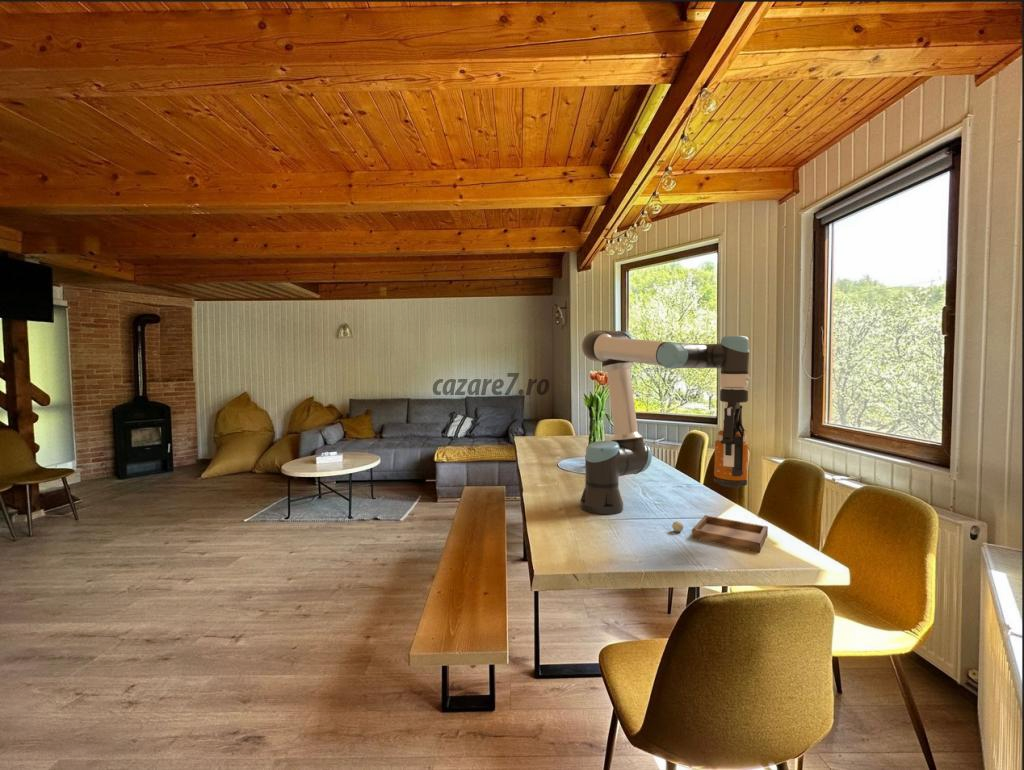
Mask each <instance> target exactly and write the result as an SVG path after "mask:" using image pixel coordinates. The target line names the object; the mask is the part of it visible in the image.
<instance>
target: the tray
mask: <svg viewBox="0 0 1024 770" xmlns="http://www.w3.org/2000/svg"><path fill="white" fill-rule="evenodd" d="M768 529H769V527H768V526H767V525H761V524H757V523H751V522H745V521H738V520H733V519H728V518H723V517H718V516H711V515H706V514H705V515H704V516H703V517H702V518H701V519H700V520H699V521H698V523H697V524H696V525H694V527H693V528H692V529H691V538H692V539H694V538H695V539H696V540H699V539H701V540H700V541H704V540H705V541H704V542H709V541H710V543H713V542H715V543H714V544H718V543H719V545H724V546H729V547H732V546H733V548H737V549H742V550H747V549H748V550H747V551H751V550H752V552H756V551H757V553H760V552H761V551H762V548H763V547H764V544H765V541H766V540H765V539H767V538H768V533H769V531H768ZM695 539H694V540H695Z"/></svg>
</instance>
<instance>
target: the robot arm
mask: <svg viewBox="0 0 1024 770" xmlns="http://www.w3.org/2000/svg"><path fill="white" fill-rule="evenodd" d="M720 340H721V341H720V343H686V342H685V343H683V342H674V341H659V340H649V339H639V338H638V339H637V338H635V337H634V335H632V334H631V333H630V332H626V331H622V330H593V331H590V332H589V333H587V334H586V335H585V336H584V338H583V339H582V342H581V343H582V344H581V350H582V352H583V354H584V356H585V357H586V358H587V359H589V360H590V361H593V362H600V363H601V365H602V369H603V370H604V371H606V375H607V383H608V391H609V398H610V399H609V400H610V408H611V414H612V415H611V417H612V424H613V430H614V431H613V432H614V435H613V436H612V437H611V438H610V440H599V441H593V442H591V443H589V444H588V445H586V448H585V455H584V457H585V458H584V459H585V463H584V464H585V465H584V466H585V473H584V474H585V476H584V477H585V478H584V479H585V481H584V482H585V484H584V485H585V486H584V489H583V491H582V495H581V497H580V502H579V507H580V509H581V510H583V511H584V512H587V513H590V514H596V515H597V514H598V515H614V514H619V513H621V512H622V511H624V502H623V501H624V500H623V498H622V495H621V492H620V488H619V477H623V476H624V477H625V476H629V475H638V474H640V473H642V472H645V471H646V470H648V468H649V467H650V465H651V463H652V460H653V459H652V458H653V456H652V455H653V454H652V450H651V447H650V446H648V443H646V442H645V441H644V437H643V435H641V433H640V432H639V429H638V423H637V422H638V421H637V415H636V414H637V413H636V407H635V406H636V405H635V398H634V390H633V382H632V375H631V368H632V367H633V366H634V363H636V364H637V363H638V364H647V365H653V366H661V367H663V368H666V369H670V370H671V369H673V370H674V369H675V370H676V369H720V376H719V377H720V378H719V386H720V388H721V389H720V390H719V401H721V402H724V403H726V404H727V407H725V408H724V409H723V410H724V415H723V421H724V422H723V428H722V430H723V439H722V441H721V443H722V444H724V458H723V466H728V467H734V445H735V444H733V443H734V433H735V427H736V423H738V420H740V422H741V424H742V425H743V413H742V412H743V405H741V404H742V403H747V402H748V401H749V390H748V389H747V388H749V381H751V380H752V379H751V377H749V362H750V352H751V350H750V340H749V337H748V336H744V335H728V336H722V337H721V339H720ZM734 426H735V427H734ZM740 428H741V427H740ZM740 430H741V429H740ZM741 431H742V430H741Z"/></svg>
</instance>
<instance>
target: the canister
mask: <svg viewBox="0 0 1024 770" xmlns="http://www.w3.org/2000/svg"><path fill="white" fill-rule="evenodd" d="M723 423H724V420H723ZM734 427H735V426H734ZM740 427H741V428H740ZM740 429H741V430H742V431H741V430H740ZM747 432H748V431H747V430H745V427H744V426H743V423H742V424H741V422H740V420H738V423H736V427H735V433H734V443H733V444H735V445H734V467H728V466H723V458H724V444H722V443H721V441H722V439H723V429H722V430H719V431H718V432H717V434H716V440H715V442H714V466H713V467H714V471H713V476H714V477H713V481H714V483H716V484H719V485H720V486H723V487H726V488H742V487H743V486H744V487H745V486H747V485H748V470H749V469H748V466H749V464H748V463H749V462H748V461H749V460H748V459H749V443H748V442H747V435H746V433H747Z"/></svg>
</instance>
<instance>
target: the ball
mask: <svg viewBox="0 0 1024 770" xmlns="http://www.w3.org/2000/svg"><path fill="white" fill-rule="evenodd" d="M671 527H672V529H673V531H675V532H677V533H679V532H680V533H681V532H682V531H683V529H684V525H683V522H681V521H679V520H675V521H674V522H672V526H671Z"/></svg>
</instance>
